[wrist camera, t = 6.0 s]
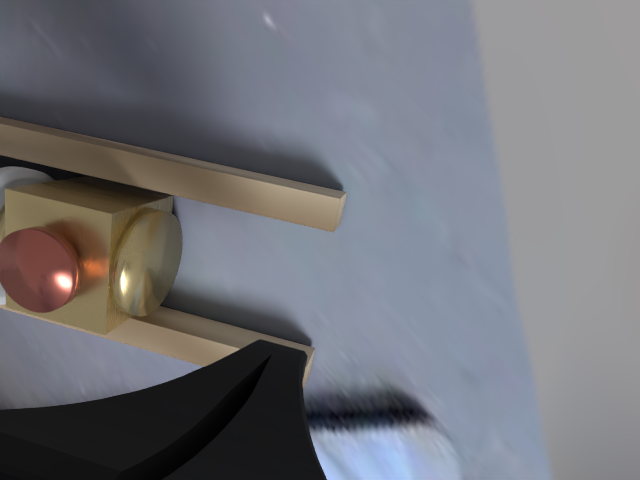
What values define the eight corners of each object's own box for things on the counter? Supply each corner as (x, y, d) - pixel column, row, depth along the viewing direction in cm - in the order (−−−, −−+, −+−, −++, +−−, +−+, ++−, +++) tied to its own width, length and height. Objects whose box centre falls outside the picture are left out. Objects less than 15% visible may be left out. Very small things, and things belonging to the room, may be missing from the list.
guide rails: (310, 373, 20) (301, 394, 18) (-36, 276, 22) (-70, 287, 20) (347, 192, 17) (339, 198, 16) (-41, 107, 20) (-79, 106, 18)
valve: (187, 198, 19) (109, 224, 14) (176, 298, 20) (102, 353, 15) (72, 172, 20) (-39, 188, 15) (69, 270, 21) (-34, 314, 16)
